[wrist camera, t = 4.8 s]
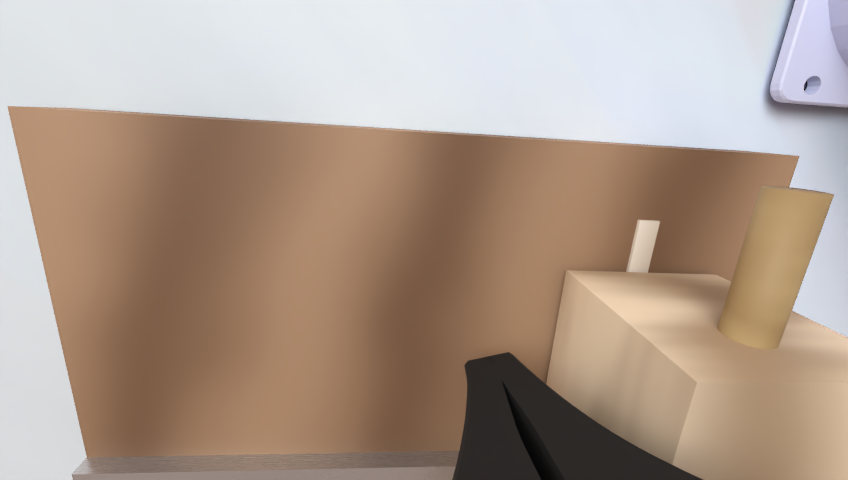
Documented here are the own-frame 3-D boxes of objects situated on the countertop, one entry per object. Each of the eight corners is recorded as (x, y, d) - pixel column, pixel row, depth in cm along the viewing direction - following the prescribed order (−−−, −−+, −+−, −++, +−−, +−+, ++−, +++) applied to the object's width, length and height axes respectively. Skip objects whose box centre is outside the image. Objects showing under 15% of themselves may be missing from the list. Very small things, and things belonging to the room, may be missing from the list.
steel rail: (703, 446, 14) (717, 460, 13) (696, 468, 14) (709, 483, 14) (87, 457, 12) (72, 474, 11) (93, 483, 12) (78, 501, 12)
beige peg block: (746, 172, 11) (1026, 214, 6) (667, 440, 13) (820, 617, 9) (585, 162, 10) (752, 201, 6) (535, 442, 13) (621, 629, 8)
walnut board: (744, 151, 13) (802, 156, 11) (640, 507, 17) (671, 553, 15) (68, 107, 11) (3, 106, 9) (145, 523, 15) (111, 579, 13)
